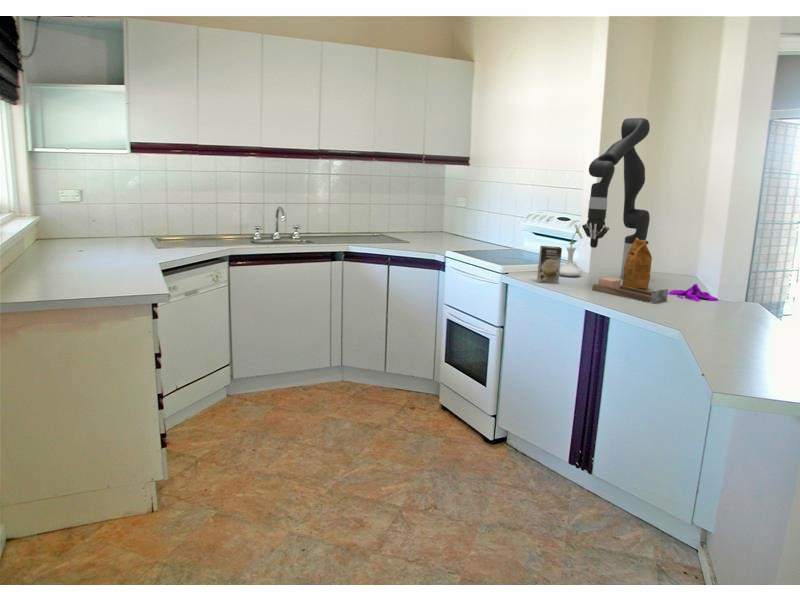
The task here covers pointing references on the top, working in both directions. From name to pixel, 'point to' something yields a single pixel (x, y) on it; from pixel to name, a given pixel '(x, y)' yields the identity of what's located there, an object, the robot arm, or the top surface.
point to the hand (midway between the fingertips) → (593, 247)
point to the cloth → (693, 294)
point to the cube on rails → (635, 293)
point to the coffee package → (637, 266)
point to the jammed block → (610, 282)
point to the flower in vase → (570, 260)
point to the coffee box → (549, 264)
